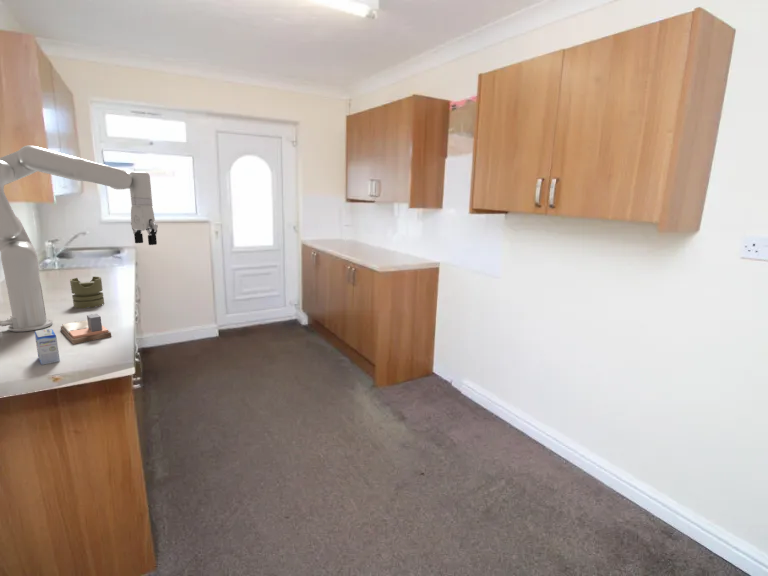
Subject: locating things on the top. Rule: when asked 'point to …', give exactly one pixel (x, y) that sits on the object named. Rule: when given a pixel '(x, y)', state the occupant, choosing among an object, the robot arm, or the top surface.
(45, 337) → the medicine box
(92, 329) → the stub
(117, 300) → the top surface
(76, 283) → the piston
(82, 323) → the board
